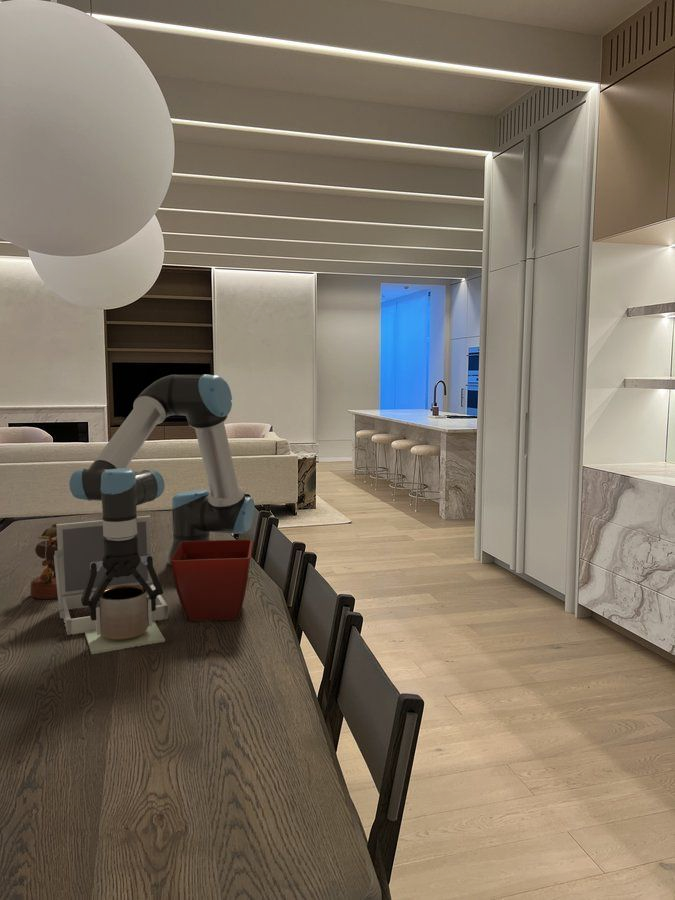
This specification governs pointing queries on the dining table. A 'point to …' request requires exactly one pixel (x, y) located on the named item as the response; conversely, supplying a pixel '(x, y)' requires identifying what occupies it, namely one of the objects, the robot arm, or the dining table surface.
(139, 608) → the planter
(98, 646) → the mat
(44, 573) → the music box
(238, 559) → the plant pot
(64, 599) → the case
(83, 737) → the dining table surface
